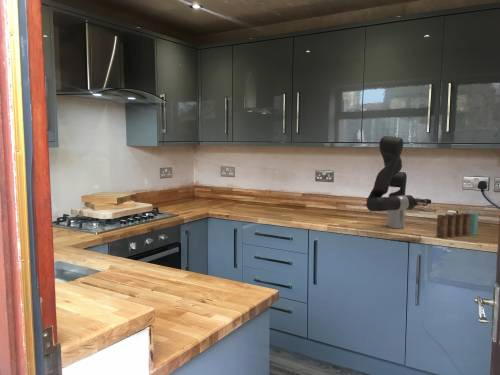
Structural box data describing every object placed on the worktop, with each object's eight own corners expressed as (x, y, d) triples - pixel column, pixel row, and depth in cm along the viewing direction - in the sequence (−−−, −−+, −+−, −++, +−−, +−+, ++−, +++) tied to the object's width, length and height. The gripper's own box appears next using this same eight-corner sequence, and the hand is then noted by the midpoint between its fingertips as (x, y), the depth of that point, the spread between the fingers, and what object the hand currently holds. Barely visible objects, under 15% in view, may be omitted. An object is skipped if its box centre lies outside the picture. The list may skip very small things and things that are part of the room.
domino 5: (466, 233, 234) (467, 212, 232) (469, 233, 234) (470, 212, 233) (473, 235, 229) (475, 213, 228) (476, 235, 230) (478, 213, 228)
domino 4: (458, 234, 232) (460, 212, 230) (461, 233, 232) (463, 212, 231) (466, 236, 227) (468, 214, 226) (469, 235, 228) (471, 214, 226)
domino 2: (444, 235, 227) (445, 214, 226) (447, 235, 228) (448, 213, 227) (451, 237, 223) (452, 215, 222) (454, 237, 224) (455, 215, 222)
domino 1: (436, 236, 225) (437, 214, 224) (439, 236, 226) (440, 214, 225) (443, 238, 221) (444, 216, 220) (446, 238, 222) (448, 215, 220)
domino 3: (451, 234, 230) (452, 213, 228) (454, 234, 230) (455, 213, 229) (459, 236, 225) (460, 215, 224) (462, 236, 226) (463, 214, 224)
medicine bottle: (446, 228, 246) (447, 208, 244) (459, 230, 241) (460, 210, 240) (443, 230, 240) (444, 210, 239) (456, 232, 236) (457, 211, 234)
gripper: (413, 197, 205) (440, 195, 211) (394, 193, 217) (420, 192, 224) (412, 212, 205) (439, 210, 212) (393, 208, 218) (419, 206, 224)
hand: (429, 201), depth 218 cm, fingers closed
